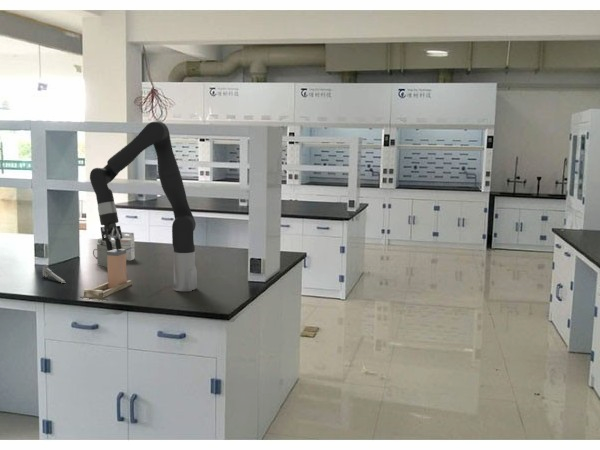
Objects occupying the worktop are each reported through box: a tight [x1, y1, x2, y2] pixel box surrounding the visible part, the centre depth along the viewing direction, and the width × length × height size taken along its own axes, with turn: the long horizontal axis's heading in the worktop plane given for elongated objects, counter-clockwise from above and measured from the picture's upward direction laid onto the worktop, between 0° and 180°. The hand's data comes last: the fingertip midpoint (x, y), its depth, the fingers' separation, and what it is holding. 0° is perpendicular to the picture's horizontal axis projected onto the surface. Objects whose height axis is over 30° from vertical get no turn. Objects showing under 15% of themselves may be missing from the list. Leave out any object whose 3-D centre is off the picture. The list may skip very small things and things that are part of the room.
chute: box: [79, 279, 133, 301], centre depth 259 cm, size 12×24×4 cm, turn 166°
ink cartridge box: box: [120, 231, 135, 261], centre depth 328 cm, size 9×5×15 cm, turn 84°
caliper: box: [42, 264, 67, 284], centre depth 279 cm, size 20×1×6 cm, turn 49°
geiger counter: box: [92, 237, 116, 268], centre depth 310 cm, size 14×6×25 cm
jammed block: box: [107, 249, 128, 289], centre depth 265 cm, size 5×7×16 cm
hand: (114, 249), depth 261 cm, fingers open, 8 cm apart
